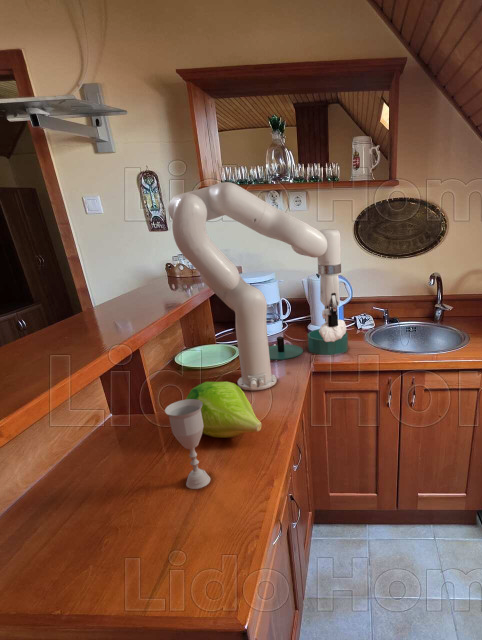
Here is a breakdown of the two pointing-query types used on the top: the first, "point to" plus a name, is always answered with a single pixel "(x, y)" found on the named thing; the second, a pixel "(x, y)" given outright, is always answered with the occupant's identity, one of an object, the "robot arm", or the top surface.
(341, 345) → the pot
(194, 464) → the chalice
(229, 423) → the lettuce
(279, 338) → the lid
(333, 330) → the white lumpy round piece
